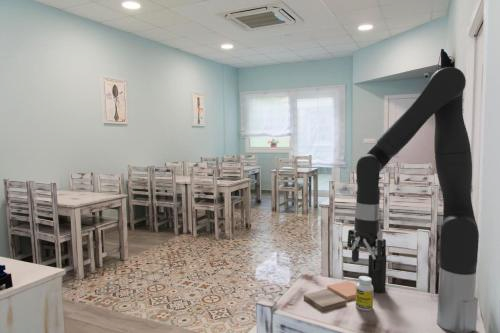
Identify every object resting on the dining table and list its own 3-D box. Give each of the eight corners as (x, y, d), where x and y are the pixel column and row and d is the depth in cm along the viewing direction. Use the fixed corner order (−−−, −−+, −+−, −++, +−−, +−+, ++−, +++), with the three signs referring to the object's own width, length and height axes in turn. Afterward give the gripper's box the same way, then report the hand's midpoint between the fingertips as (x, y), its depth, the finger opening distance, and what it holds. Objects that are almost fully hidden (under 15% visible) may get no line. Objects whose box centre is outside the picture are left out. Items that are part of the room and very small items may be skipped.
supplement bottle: (353, 308, 117) (354, 279, 116) (357, 301, 122) (358, 273, 121) (371, 312, 114) (372, 282, 113) (374, 305, 119) (375, 276, 118)
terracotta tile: (368, 294, 127) (368, 290, 127) (346, 300, 122) (346, 296, 122) (348, 284, 136) (348, 280, 136) (327, 289, 131) (327, 285, 131)
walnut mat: (346, 304, 120) (346, 300, 119) (322, 311, 115) (322, 306, 115) (326, 293, 128) (326, 288, 128) (303, 298, 124) (303, 294, 124)
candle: (366, 289, 131) (368, 222, 129) (373, 285, 135) (375, 220, 133) (379, 294, 127) (382, 224, 125) (386, 290, 131) (388, 222, 129)
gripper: (393, 220, 111) (390, 271, 112) (359, 211, 123) (357, 257, 125) (375, 222, 107) (373, 275, 109) (342, 213, 120) (340, 260, 121)
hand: (364, 265), depth 117 cm, fingers open, 8 cm apart
